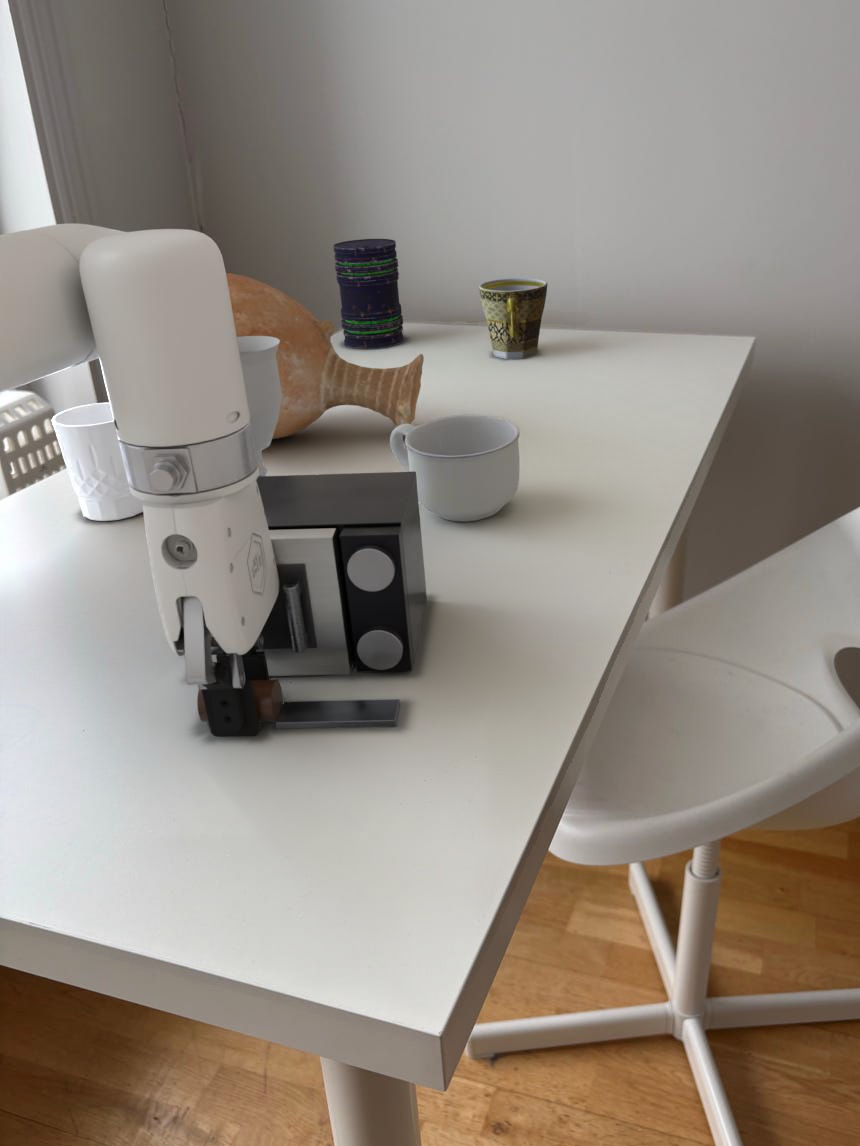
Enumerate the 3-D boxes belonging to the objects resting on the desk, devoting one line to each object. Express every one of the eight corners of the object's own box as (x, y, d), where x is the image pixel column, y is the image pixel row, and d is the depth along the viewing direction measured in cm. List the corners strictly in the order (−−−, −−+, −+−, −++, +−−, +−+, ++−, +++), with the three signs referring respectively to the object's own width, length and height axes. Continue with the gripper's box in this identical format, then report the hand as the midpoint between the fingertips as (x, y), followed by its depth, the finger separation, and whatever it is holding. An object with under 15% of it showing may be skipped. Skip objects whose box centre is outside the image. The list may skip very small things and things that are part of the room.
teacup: (544, 506, 99) (543, 426, 95) (464, 542, 92) (458, 457, 88) (448, 475, 107) (442, 401, 104) (368, 506, 101) (359, 428, 97)
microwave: (410, 679, 72) (396, 536, 66) (189, 683, 73) (158, 543, 67) (426, 599, 82) (416, 471, 77) (234, 604, 84) (210, 477, 78)
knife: (202, 731, 67) (194, 695, 66) (213, 708, 70) (206, 673, 68) (395, 727, 66) (391, 691, 65) (400, 704, 69) (396, 669, 68)
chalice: (249, 562, 91) (213, 360, 82) (218, 539, 95) (181, 346, 87) (321, 539, 94) (294, 344, 85) (288, 519, 99) (259, 332, 90)
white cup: (112, 529, 99) (88, 430, 94) (60, 516, 103) (34, 420, 98) (172, 502, 105) (152, 407, 100) (121, 490, 109) (99, 398, 104)
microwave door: (346, 687, 71) (327, 547, 66) (184, 690, 72) (153, 552, 66) (353, 663, 74) (336, 527, 69) (198, 666, 75) (169, 532, 69)
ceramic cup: (483, 347, 157) (480, 279, 152) (548, 344, 156) (546, 276, 151) (480, 368, 145) (476, 296, 140) (549, 366, 145) (548, 293, 140)
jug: (197, 315, 129) (432, 334, 129) (180, 459, 127) (418, 478, 126) (147, 233, 109) (424, 255, 109) (125, 402, 107) (408, 424, 107)
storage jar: (342, 337, 167) (330, 241, 160) (401, 332, 168) (392, 236, 161) (346, 351, 159) (334, 250, 151) (408, 345, 160) (399, 245, 153)
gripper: (215, 508, 52) (270, 792, 61) (283, 414, 66) (320, 656, 75) (74, 512, 53) (149, 794, 62) (171, 418, 67) (221, 658, 76)
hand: (243, 716), depth 68 cm, fingers closed on knife, 2 cm apart
